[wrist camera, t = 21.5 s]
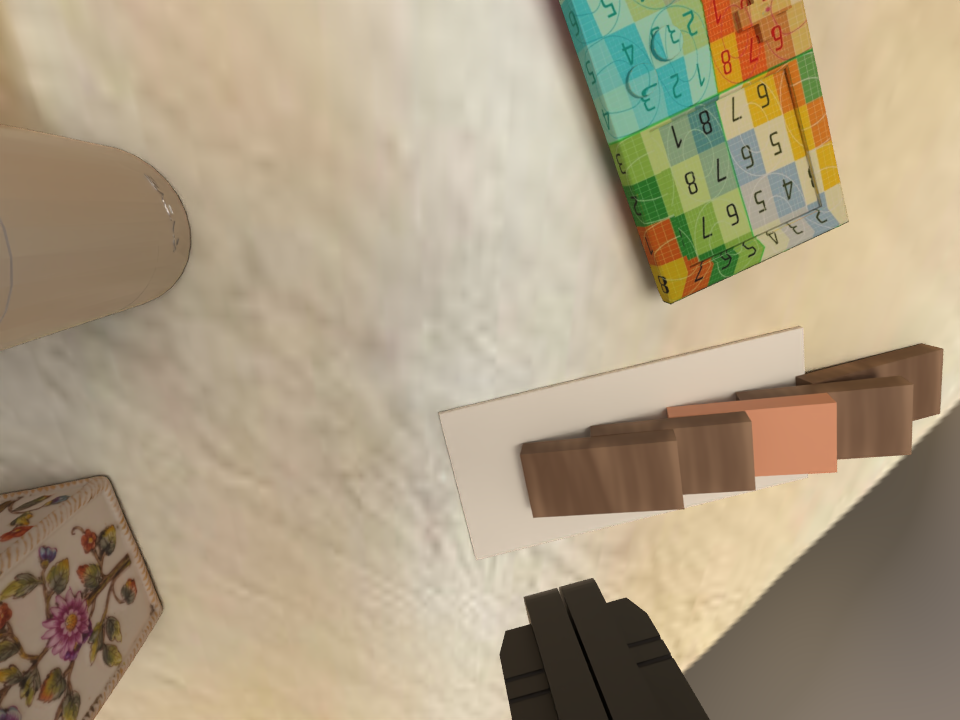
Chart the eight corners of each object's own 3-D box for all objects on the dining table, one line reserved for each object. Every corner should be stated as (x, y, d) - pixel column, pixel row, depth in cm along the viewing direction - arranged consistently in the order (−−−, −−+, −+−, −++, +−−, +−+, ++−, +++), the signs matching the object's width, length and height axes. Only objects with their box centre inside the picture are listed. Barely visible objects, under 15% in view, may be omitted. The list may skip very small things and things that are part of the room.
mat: (475, 556, 39) (476, 560, 39) (438, 412, 36) (438, 414, 36) (804, 474, 40) (808, 477, 40) (799, 326, 37) (803, 327, 37)
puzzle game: (778, -176, 25) (861, 222, 31) (724, -117, 29) (805, 220, 35) (553, -66, 25) (677, 306, 31) (533, -25, 30) (645, 294, 36)
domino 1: (533, 517, 37) (684, 509, 34) (519, 454, 35) (676, 440, 33) (535, 504, 38) (680, 495, 36) (522, 443, 37) (673, 429, 34)
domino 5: (813, 447, 37) (940, 413, 38) (812, 383, 36) (943, 348, 37) (797, 438, 39) (919, 405, 40) (795, 376, 37) (921, 343, 38)
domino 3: (675, 480, 37) (836, 472, 34) (669, 416, 36) (836, 402, 33) (673, 469, 39) (827, 459, 36) (666, 407, 37) (826, 392, 34)
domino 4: (745, 465, 37) (911, 454, 35) (740, 401, 36) (913, 384, 33) (739, 454, 39) (898, 442, 36) (735, 392, 37) (900, 375, 35)
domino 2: (600, 499, 37) (755, 490, 34) (590, 436, 35) (751, 421, 33) (600, 487, 38) (749, 477, 36) (590, 425, 37) (744, 410, 34)
